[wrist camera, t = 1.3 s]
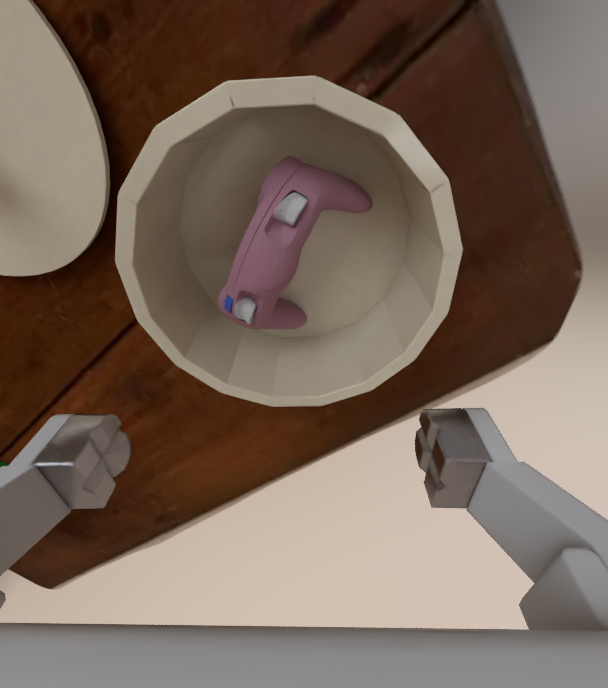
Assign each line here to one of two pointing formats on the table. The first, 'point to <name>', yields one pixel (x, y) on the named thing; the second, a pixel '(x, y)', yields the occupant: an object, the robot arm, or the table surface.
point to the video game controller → (283, 241)
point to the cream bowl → (316, 255)
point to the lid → (46, 148)
